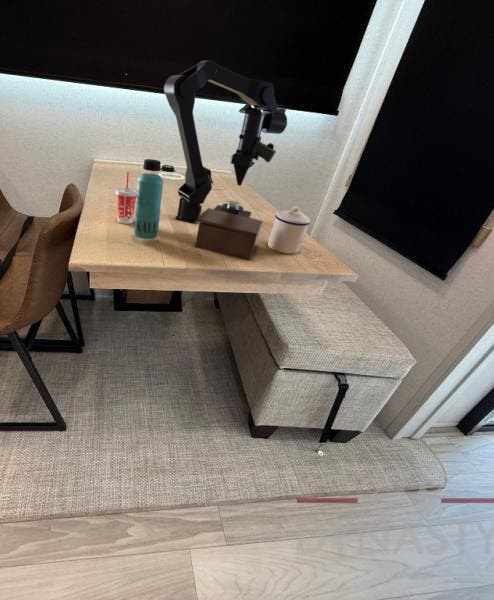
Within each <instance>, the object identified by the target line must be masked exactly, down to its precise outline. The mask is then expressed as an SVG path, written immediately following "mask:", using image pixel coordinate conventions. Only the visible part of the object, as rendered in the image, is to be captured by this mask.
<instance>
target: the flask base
mask: <svg viewBox="0 0 494 600" xmlns="http://www.w3.org/2000/svg"><path fill="white" fill-rule="evenodd" d="M227 204H228V202H226V203H223V204H222V205H221V204H217V205H216V206H215V207H214V208H213V209H215V210H219V211H223V212H227V213H231V214H235V215H239V216H244V217H248V218H251V216H252V211H249V210H244V207H243V206H242V205H239V209H233V208H229V207H227Z"/></svg>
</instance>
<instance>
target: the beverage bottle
mask: <svg viewBox="0 0 494 600" xmlns="http://www.w3.org/2000/svg"><path fill="white" fill-rule="evenodd" d="M161 163H162V162H161V161H160V160H157V159H152V158H146V159H144V161H143V165H142V169H143V170H145V171H148V172H145V173H142V174H141V175H140V176H139V177H138V178H137V188H136V190H137V192H136V193H137V195H136V201H135V212H134V217H133V222H134V223H133V235H134V236H135V237H136V238H139V239H143V240H152V239H155V238H157V236H158V235H159V228H160V219H161V204H162V197H163V185H164V179H163V178H162V177H161V176H160V175H158V174H156V173H149V172H161V169H162V167H161Z"/></svg>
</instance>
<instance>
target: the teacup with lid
mask: <svg viewBox="0 0 494 600" xmlns="http://www.w3.org/2000/svg"><path fill="white" fill-rule="evenodd" d="M300 210H301V209H300V207H299V206H295V205H294V206H292V207H291V209H286V210H282V211H281V210H280V211H278V212H276V214H275V215H274V221H273V225H272V228H271V231H270V235H269V238H268V241H267V245H268V247H269V248H270V249H271V250H273V251H276V252H278V253H282V254H289V255H291V254H292V255H293V254H294V255H295V254H297V253H299V251H300V248H301V246H302V243H303V240H304V237H305V235H306V232H307V229H308V226H309V225H310V223H311V220H310V218H309V217H308V216H306V215H305V214H304V213H303V212H301V211H300Z"/></svg>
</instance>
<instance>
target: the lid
mask: <svg viewBox="0 0 494 600" xmlns="http://www.w3.org/2000/svg"><path fill="white" fill-rule="evenodd" d="M196 222H197V223H200V222H202V223H206V224H210V225H214V226H218V227H222V228H226V229H229V230H233V231H237V232H241V233H245V234H249V235H253V236H257V234H258V231H259V229H260V230H261V228H260V227H262V225H263V220H260V219H256V218H251V217H250V218H248V217H244V216H239V215H235V214H231V213H227V212H223V211H219V210H215V209H214V208H210V207H208V208H206V210H204V211H203V212H202V213H201V215H200V216H199V217H198V218H197V221H196ZM261 224H262V225H261Z"/></svg>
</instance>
